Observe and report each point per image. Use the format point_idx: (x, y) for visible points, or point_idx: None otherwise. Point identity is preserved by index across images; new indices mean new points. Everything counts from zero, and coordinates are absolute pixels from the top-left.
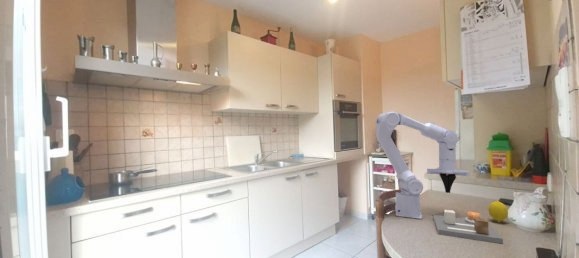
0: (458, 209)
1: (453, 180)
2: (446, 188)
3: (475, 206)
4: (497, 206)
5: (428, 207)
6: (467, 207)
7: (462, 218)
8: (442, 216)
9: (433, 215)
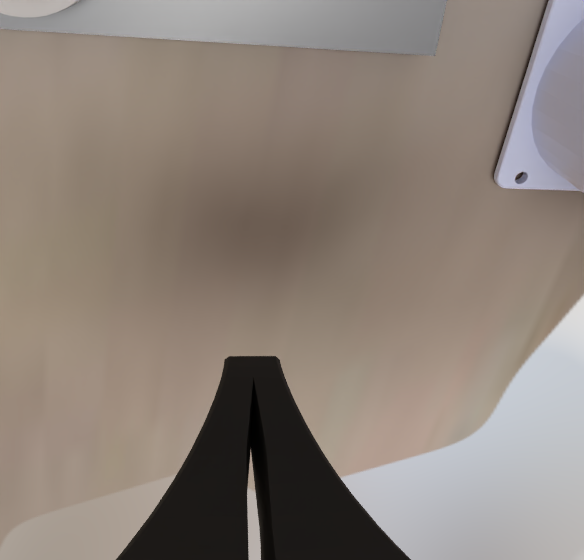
0: (140, 393)
1: (146, 545)
2: (280, 397)
3: (18, 490)
4: None
5: (365, 363)
6: (72, 455)
7: (134, 27)
8: (346, 22)
9: (439, 25)
